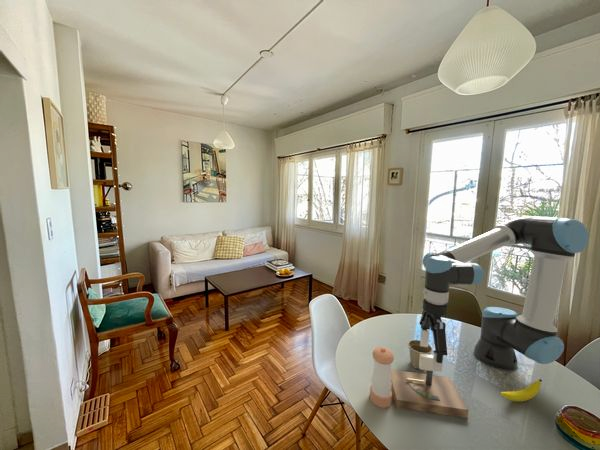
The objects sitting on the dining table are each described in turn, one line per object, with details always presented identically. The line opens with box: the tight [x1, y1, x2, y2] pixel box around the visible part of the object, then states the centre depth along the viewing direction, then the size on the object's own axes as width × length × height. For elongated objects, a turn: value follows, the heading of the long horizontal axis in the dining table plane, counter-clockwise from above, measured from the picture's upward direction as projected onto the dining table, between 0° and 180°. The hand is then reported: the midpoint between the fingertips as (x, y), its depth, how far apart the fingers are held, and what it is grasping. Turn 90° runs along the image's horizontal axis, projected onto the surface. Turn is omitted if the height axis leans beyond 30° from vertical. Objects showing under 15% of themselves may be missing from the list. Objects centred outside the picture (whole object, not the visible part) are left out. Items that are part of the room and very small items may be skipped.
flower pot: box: [407, 339, 434, 370], centre depth 105 cm, size 9×9×9 cm
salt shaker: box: [369, 346, 395, 409], centre depth 86 cm, size 7×7×19 cm
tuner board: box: [391, 369, 469, 419], centre depth 89 cm, size 22×15×3 cm
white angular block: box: [407, 354, 442, 386], centre depth 90 cm, size 11×2×11 cm, turn 80°
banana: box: [500, 378, 543, 403], centre depth 87 cm, size 3×19×6 cm, turn 105°
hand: (429, 357), depth 89 cm, fingers open, 13 cm apart
